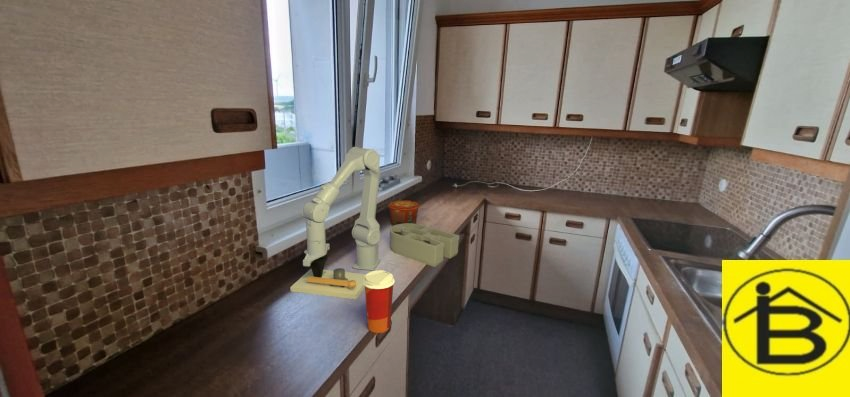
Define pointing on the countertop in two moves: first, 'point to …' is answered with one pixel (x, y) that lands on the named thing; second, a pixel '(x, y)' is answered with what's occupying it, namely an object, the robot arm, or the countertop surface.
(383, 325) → the coffee cup
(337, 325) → the countertop surface
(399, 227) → the green compartment tray
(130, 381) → the countertop surface
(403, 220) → the food container
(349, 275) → the board
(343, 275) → the plug
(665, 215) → the countertop surface
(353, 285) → the tan wooden rod
